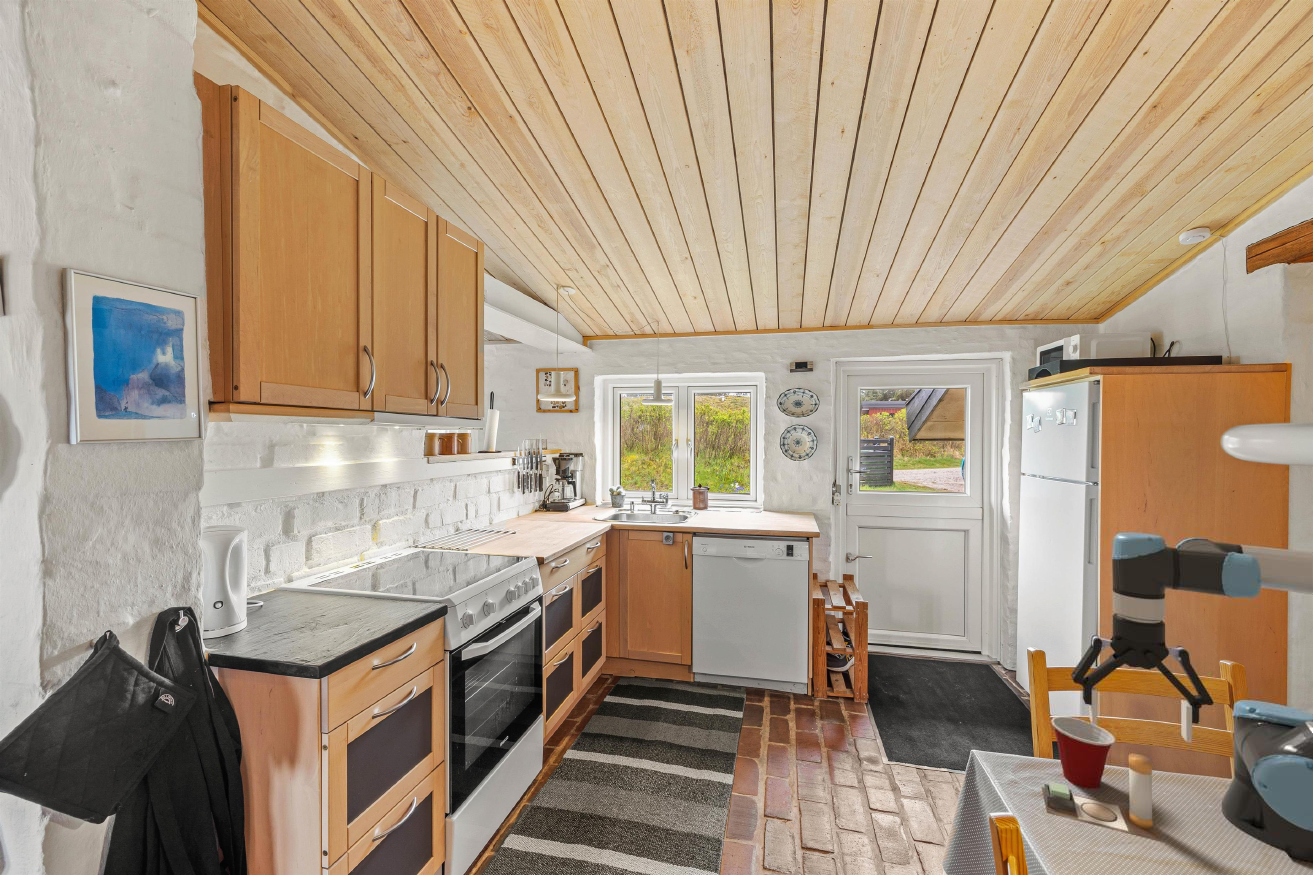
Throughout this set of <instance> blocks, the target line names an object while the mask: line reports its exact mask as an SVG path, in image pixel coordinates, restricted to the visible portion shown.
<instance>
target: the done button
mask: <svg viewBox="0 0 1313 875" xmlns="http://www.w3.org/2000/svg"><path fill="white" fill-rule="evenodd" d="M1048 785H1049V793H1050V796H1054V797H1059V798H1063V799H1067V800H1070V793H1069V790H1070V789H1069V787H1068V785H1065V784H1060V783H1058V782H1057V783H1056V782H1051V781H1048ZM1068 789H1069V790H1068Z"/></svg>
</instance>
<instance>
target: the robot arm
mask: <svg viewBox="0 0 1313 875" xmlns="http://www.w3.org/2000/svg"><path fill="white" fill-rule="evenodd" d="M1111 559H1112V560H1111V561H1112V562H1111V563H1112V611H1113V612H1114V614H1112V636H1111V638H1110V639H1107V638H1103V637H1100V636H1099V635H1096V634H1093V635H1092V636H1091V640H1090V646H1089V647H1088V648H1087V650H1086V652H1085V653H1084V655H1083V656H1082V658H1081V659H1080V660H1079V662H1078V663H1077V664H1076V667H1075V668H1074V670H1072V672H1071V676H1070V677H1071V679H1072V681H1073V683H1075V684H1076V685H1077V684H1078V685H1079V686H1082V700H1083V702H1084V704H1085V705H1088V708H1089V709H1088V710H1089V711H1088V712H1089V713H1088V714H1089V720H1090V723H1092V724H1094V725H1097V726H1098V690H1097V688H1096V685H1097V684H1099V683H1100V682H1101V681H1103V680H1104V679H1105V678H1106V677H1108V676H1109V675H1111V674H1112V673H1113V672H1114V671H1115V670H1116V669H1118V668H1122V667H1123V666H1124V665H1126V666H1128V667H1130V668H1141V669H1145V670H1149V671H1150V670H1153V669H1156V668H1157V670H1158V671H1159V672H1160V673H1161V674H1162V675H1163V676H1164V677H1165V678H1166V679H1167V680H1168V681H1169V682H1170V683H1171V684H1172V685H1173V687H1174V688H1175V689H1176V690H1178V692H1179V693H1180V694H1181V695H1182V696H1183V697H1184V698H1185V699H1186V700H1185V699H1181V701H1180V707H1181V708H1180V709H1181V710H1180V711H1181V713H1180V714H1181V716H1180V717H1181V719H1180V720H1181V725H1180V726H1181V727H1180V728H1181V730H1180V731H1181V732H1180V734H1181V737H1182V739H1184V741H1185V742H1186V743H1190V744H1193V724H1195V725H1198V724H1199V722H1200V709H1201V708H1202V706H1205V705H1207V706H1213V705H1214V703H1215V702H1214V700H1213V698H1212V697H1211V695H1210V693H1209V692H1208V690H1207V689H1206V687H1205V685H1204V684H1203V682H1202V680H1201V679H1200V676H1198V673H1197V672H1196V670H1195V669H1194V667H1193V665H1192V664H1191V660H1190V654H1189V652H1188V651H1187V649H1185V648H1184V647H1183V646H1182V645H1177V646H1176V647H1167V645H1166V623H1165V622H1164V620H1165V619H1166V593H1165V592H1166V589H1167V590H1175V591H1185V592H1186V591H1187V592H1191V593H1192V592H1193V593H1200V594H1207V595H1216V596H1221V597H1228V598H1231V599H1232V598H1243V599H1245V598H1247V599H1255V598H1257V597H1258V596H1259V595H1260V593H1261V589H1262V588H1263V589H1270V590H1276V591H1277V590H1278V591H1284V592H1290V593H1291V592H1293V593H1300V594H1305V595H1313V551H1304V550H1296V549H1285V548H1276V547H1266V546H1258V545H1257V546H1256V545H1245V544H1235V543H1230V542H1229V543H1227V542H1219V541H1212V540H1210V539H1208V538H1202V537H1189V538H1185V539H1184V540H1180V542H1179V543H1178V544H1177V545H1176V546H1175V547H1172V546H1167V544H1166V540H1165V538H1164V537H1162V536H1161V535H1157V534H1153V533H1152V534H1151V533H1144V532H1143V533H1142V532H1121V533H1120V532H1119V533H1117V534H1116V535H1115V536H1114V537H1113V539H1112V554H1111ZM1108 647H1110V648H1111V649H1112V650H1113V653H1111V655H1109V656H1108V658H1106V660H1105V661H1103V662H1102V663H1101V664H1100V665H1098V666H1097V667H1095V668H1094V669H1093V670H1092V671H1091V672H1089V670H1091V668H1092V667H1093V665H1094V663H1095V662H1096V661H1097V659H1098V658H1099V656H1100V654H1101V652H1102V651H1104V650H1106V648H1108ZM1169 655H1170V656H1171V657H1172V658H1173V659H1174V660H1175V661H1177V662H1178V664H1179V665H1180V667H1181V668H1182V670H1183V671H1184V673H1185V674H1186V677H1187V678H1188V679H1189V681H1190V682H1191V684H1192V686H1193V688H1194V689H1195V691H1196V693H1197V694H1195V695H1194V694H1192V692H1191V691H1190V690H1189V689H1188V688H1187V687H1186V686H1185V685H1184V684H1183V683H1182V681H1180V680H1179V678H1177V677H1176V676H1175V675H1174V674H1173V672H1172V671H1171V670H1170V669H1169V668H1168V667H1167V666H1166V665H1165V664H1164V663H1163V661H1164V660H1165V659H1167V657H1169ZM1088 672H1089V673H1088ZM1087 673H1088V674H1087ZM1231 716H1232V718H1233V779H1232V781H1231V782H1230V784H1229V787H1228V789H1227V791H1226V793H1225V794H1224V796H1223V798H1222V801H1221V812H1222V813H1221V814H1222V815H1223V816H1224V818H1225V819H1226V820H1227V821H1228V822H1229V823H1230V824H1231V825H1233V826H1234V827H1235V828H1237V829H1238V830H1240V831H1241V832H1243V833H1245V834H1246V835H1249V836H1250V837H1252V838H1253V839H1256V840H1257V841H1260V842H1262V843H1265V844H1267V845H1270V846H1272V847H1274V848H1276V849H1280V850H1283V851H1284V852H1285V854H1287V855H1288V857H1291V858H1295V859H1299V860H1303V861H1307V862H1311V863H1313V713H1310V712H1308V711H1304V710H1301V709H1299V708H1298V709H1297V708H1294V707H1291V706H1287V705H1283V704H1277V703H1273V702H1272V703H1271V702H1266V701H1260V700H1251V699H1250V700H1248V699H1243V700H1238V701H1236V702H1235V703H1234V705H1233V712H1232V713H1231Z"/></svg>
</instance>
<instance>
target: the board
mask: <svg viewBox="0 0 1313 875" xmlns="http://www.w3.org/2000/svg"><path fill="white" fill-rule="evenodd" d="M1043 786H1044V787H1042V786H1041V791H1042V796H1043V800H1044V805H1045V809H1046V813H1047V814H1050V815H1055V816H1059V817H1062V818H1067V819H1070V820H1073V821H1074V820H1075V821H1078V822H1082V823H1087V824H1090V825H1093V826H1098V827H1103V828H1105V829H1110V830H1113V831H1118V832H1121V833H1125V834H1130V835H1132V836H1136V837H1141V838H1145V839H1149V840H1152V841H1157V842H1161V843H1163V841H1162V838H1161V837H1160V835H1159V833H1158V831H1157V828H1156V826H1155V824H1154V822H1153V821H1152V824H1153V827H1152V828H1151V829H1144V828H1140V827H1138V826H1136V825H1134V824H1133V823H1131V822H1130V820H1129V810H1130V807H1128V806H1123V805H1119V804H1114V803H1112V802H1111V803H1110V802H1105V801H1103V800H1099V799H1093V798H1090V797H1085V796H1081V795H1077V794H1073V792H1072V789H1069V788H1068V790H1069V793H1070V800H1067V799H1063V798H1059V797H1054V796H1050V793H1049V783H1044V785H1043Z"/></svg>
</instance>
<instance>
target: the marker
mask: <svg viewBox="0 0 1313 875" xmlns="http://www.w3.org/2000/svg"><path fill="white" fill-rule="evenodd" d="M1128 769H1129V770H1128V773H1129V774H1128V779H1129V783H1128V785H1129V787H1128V788H1129V789H1128V790H1129V800H1128V801H1129V808H1130V810H1129V820H1130V822H1131V823H1133V824H1134V825H1136V826H1138V827H1140V828H1144V829H1151V828H1152V827H1153V824H1154V823H1153V824H1152V822H1153V785H1152V784H1153V782H1152V780H1153V779H1152V777H1153V776H1152V774H1153V762H1152V760H1151V759H1150V758H1149V757H1146V756H1144V755H1142V754H1137V753H1130V754H1128Z"/></svg>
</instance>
